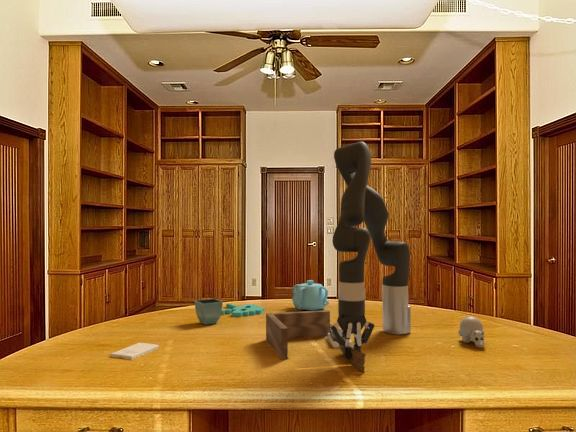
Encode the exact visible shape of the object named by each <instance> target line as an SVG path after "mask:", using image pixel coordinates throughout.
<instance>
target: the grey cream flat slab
mask: <svg viewBox="0 0 576 432" xmlns="http://www.w3.org/2000/svg"><path fill="white" fill-rule="evenodd" d="M323 338H324V339H325V340H326V342H328V343H329V344H330V346H331V347H332V348H333V349H334V350H341V349H340V347H333V346H332V344H331V342H330V340H329V339H328V336H323ZM351 348H353V349H354V344H353V343H352V347H351Z"/></svg>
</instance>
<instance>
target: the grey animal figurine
mask: <svg viewBox="0 0 576 432" xmlns="http://www.w3.org/2000/svg"><path fill="white" fill-rule="evenodd" d="M457 333H458V336H459V337H461V340H462V342H463V343H466V344H469V343H470V342H471V341H472V342H473V343H474V345H475V346H476V348H477V349H482V348H484V346H485V331H484V326H483V322H482V321H481V320H480V319H478V318H477V317H475V316H471V315H470V316H465V317H463V319H461V320H460V323H459V330H458V331H457Z"/></svg>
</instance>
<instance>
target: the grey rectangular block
mask: <svg viewBox="0 0 576 432" xmlns="http://www.w3.org/2000/svg"><path fill="white" fill-rule="evenodd" d="M338 333H339V335H340V337H341V339H342V329H341V328H339V330H338ZM330 335H331V338H332V340H333V341H336V340H335V338H334V336H333V334H332V332H331V330H330Z"/></svg>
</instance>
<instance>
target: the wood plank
mask: <svg viewBox="0 0 576 432" xmlns="http://www.w3.org/2000/svg"><path fill="white" fill-rule="evenodd" d="M339 346H340V349H339V350H340V351H341V352H342V353H343V345H339ZM366 355H367V354H366V353H364V352H362V351H361V352H359V351H357V350H355V349H354V348H351V347H350V360H347V361H348V362H349V363H350V365H351V366H353V367H354V368H356V369H357V370H359V371H361V372H362V373H365V365H366V363H365V362H366Z"/></svg>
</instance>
